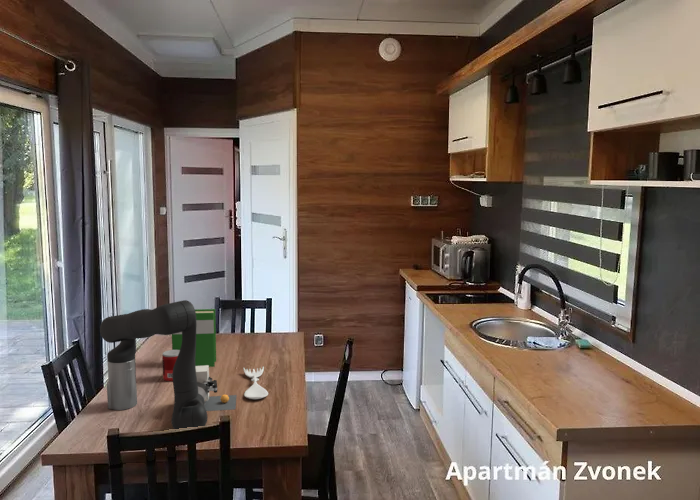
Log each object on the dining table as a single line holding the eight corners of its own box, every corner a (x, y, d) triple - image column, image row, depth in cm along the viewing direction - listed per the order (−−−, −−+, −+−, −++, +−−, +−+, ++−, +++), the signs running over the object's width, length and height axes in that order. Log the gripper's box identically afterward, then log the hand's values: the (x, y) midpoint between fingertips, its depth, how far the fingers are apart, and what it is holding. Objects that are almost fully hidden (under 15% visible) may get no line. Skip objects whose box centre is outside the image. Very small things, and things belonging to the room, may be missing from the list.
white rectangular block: (189, 402, 194) (188, 372, 193) (191, 395, 200) (190, 366, 199) (208, 400, 195) (207, 371, 194) (209, 394, 201) (208, 365, 200)
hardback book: (216, 361, 246) (215, 309, 243) (214, 366, 239) (213, 313, 235) (175, 362, 243) (174, 309, 240) (172, 368, 236) (171, 313, 233)
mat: (183, 413, 191) (182, 404, 190) (187, 398, 204) (187, 390, 203) (235, 410, 194) (235, 401, 194) (236, 396, 207) (236, 387, 206)
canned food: (187, 378, 224) (186, 352, 223) (169, 383, 219) (168, 356, 217) (177, 373, 230) (176, 348, 228) (159, 378, 224) (158, 352, 222)
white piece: (264, 372, 233) (264, 364, 232) (269, 402, 202) (269, 393, 201) (242, 374, 231) (242, 366, 230) (244, 404, 200) (244, 395, 199)
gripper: (216, 385, 184) (219, 368, 200) (172, 387, 181) (179, 370, 197) (217, 406, 185) (220, 388, 201) (173, 409, 182) (179, 390, 198)
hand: (199, 379), depth 199 cm, fingers closed on white rectangular block, 6 cm apart
